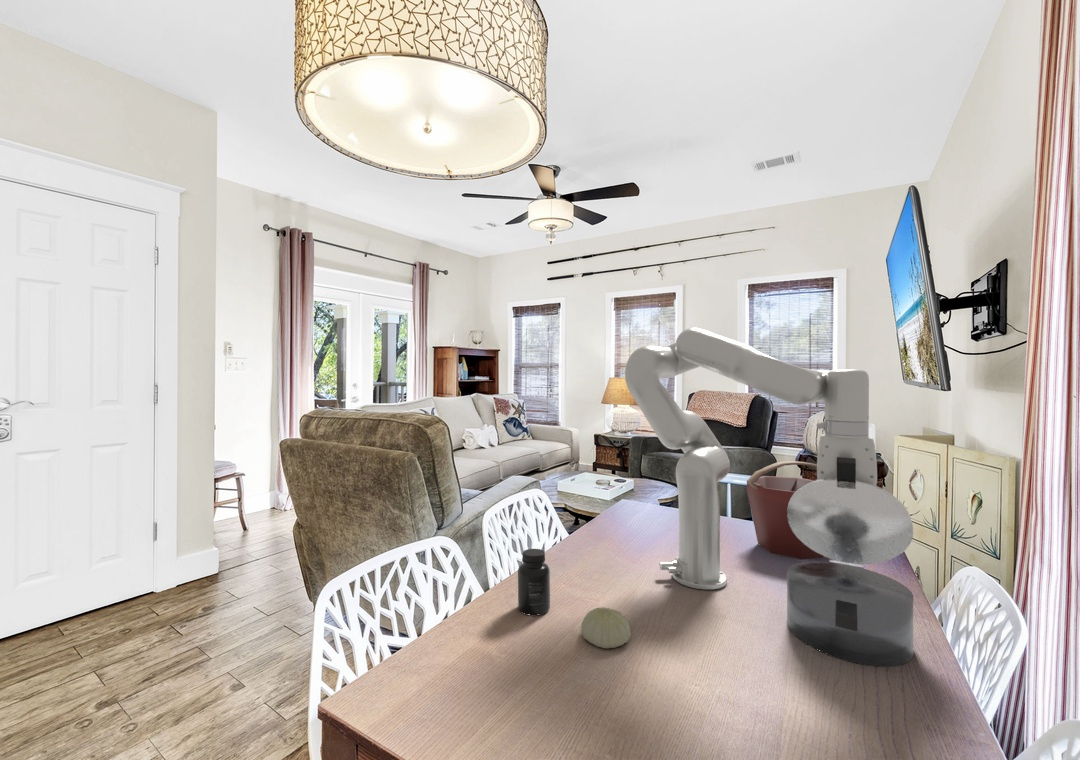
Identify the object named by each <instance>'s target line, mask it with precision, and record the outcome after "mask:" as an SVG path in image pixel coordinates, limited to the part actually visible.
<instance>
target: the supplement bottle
mask: <svg viewBox="0 0 1080 760" xmlns="http://www.w3.org/2000/svg"><path fill="white" fill-rule="evenodd" d="M521 559H522V561H521V562H522V563H520V565H519V566H518V569H517V600H518V601H517V607H518V610H519V612H521V613H522V612H523V613H522V614H524V613H525V614H524V615H526V614H530V615H529V616H532V615H536V616H538V615H537V614H542V613H544V614H546V613H547V612H548V611H549V610H550V608H551V574H550V573H551V572H550V571H551V570H550V567H549V565H548V564H547V563H546V552H545V551H544V550H543V549H540V548H529V549H526V550H523V551H522V558H521ZM545 612H546V613H545ZM542 615H543V614H542Z"/></svg>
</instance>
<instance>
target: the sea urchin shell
mask: <svg viewBox="0 0 1080 760" xmlns="http://www.w3.org/2000/svg"><path fill="white" fill-rule="evenodd" d="M580 625H581V626H580V633H581V635H582V636H583V639H585V640H586V641H587V642H589V643H590V644H592V645H594V646H595V647H599V648H602V649H615V648H618V647H622V646H623V645H624V643H625V644H626V643H628V641H629V640H630V639H631V636H632V634H631V626H630V623H628V620H627V619H626V618H625V616H623V614H621V613H620V611H617V610H615V609H612V608H610V607H608V608H607V607H595V608H593V609H591V610H590V611H588V612H587V613H586V615H585V616H584V617H583V619H582V621H581V624H580Z"/></svg>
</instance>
